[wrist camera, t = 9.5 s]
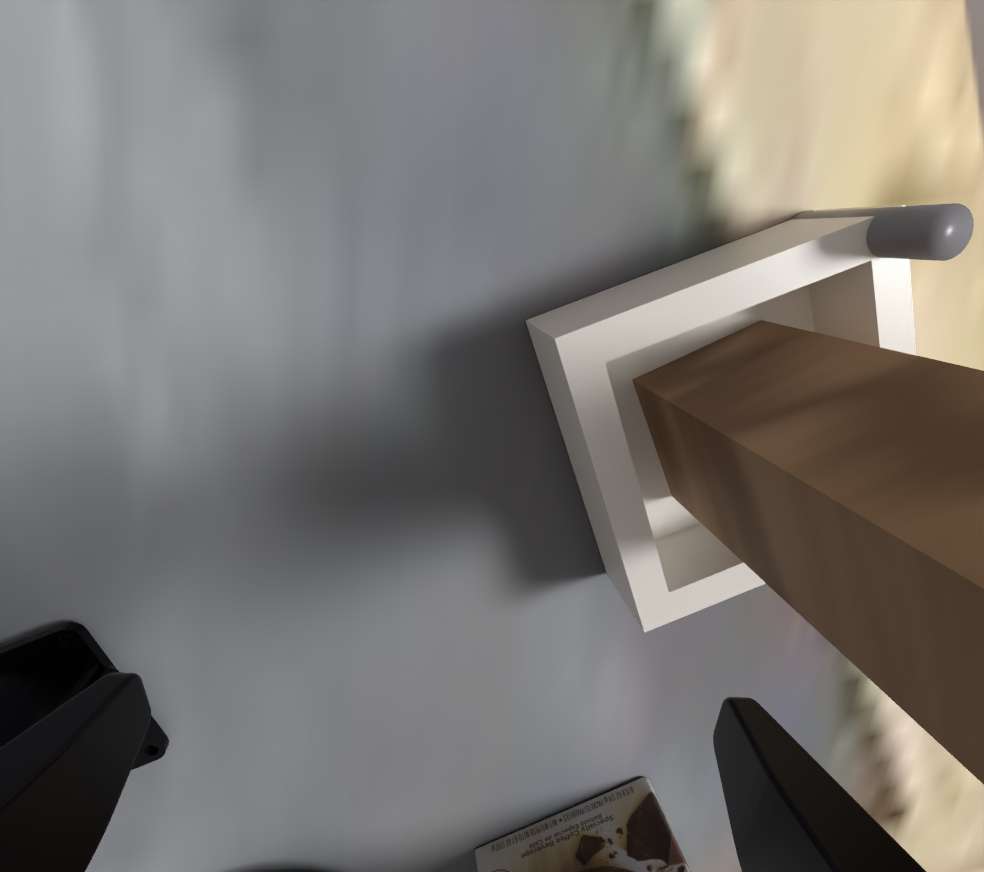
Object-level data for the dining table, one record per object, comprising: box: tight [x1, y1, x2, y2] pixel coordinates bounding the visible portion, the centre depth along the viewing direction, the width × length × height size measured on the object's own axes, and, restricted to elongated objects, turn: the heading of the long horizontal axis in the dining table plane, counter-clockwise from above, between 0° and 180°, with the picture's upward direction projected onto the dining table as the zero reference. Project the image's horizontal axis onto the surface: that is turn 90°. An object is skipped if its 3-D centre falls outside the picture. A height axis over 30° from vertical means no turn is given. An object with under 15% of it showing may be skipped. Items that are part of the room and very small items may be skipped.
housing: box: [525, 204, 973, 633], centre depth 20 cm, size 11×11×6 cm
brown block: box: [632, 320, 984, 784], centre depth 15 cm, size 5×5×14 cm
